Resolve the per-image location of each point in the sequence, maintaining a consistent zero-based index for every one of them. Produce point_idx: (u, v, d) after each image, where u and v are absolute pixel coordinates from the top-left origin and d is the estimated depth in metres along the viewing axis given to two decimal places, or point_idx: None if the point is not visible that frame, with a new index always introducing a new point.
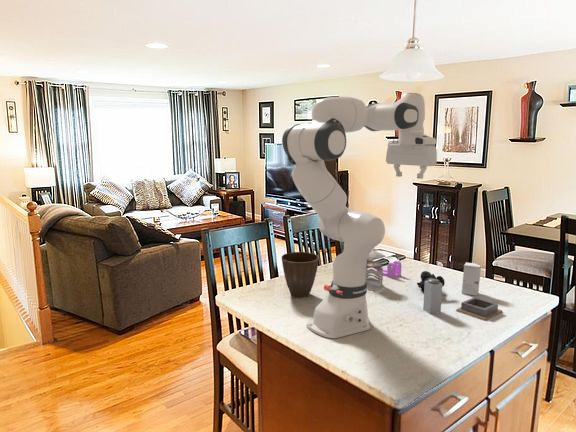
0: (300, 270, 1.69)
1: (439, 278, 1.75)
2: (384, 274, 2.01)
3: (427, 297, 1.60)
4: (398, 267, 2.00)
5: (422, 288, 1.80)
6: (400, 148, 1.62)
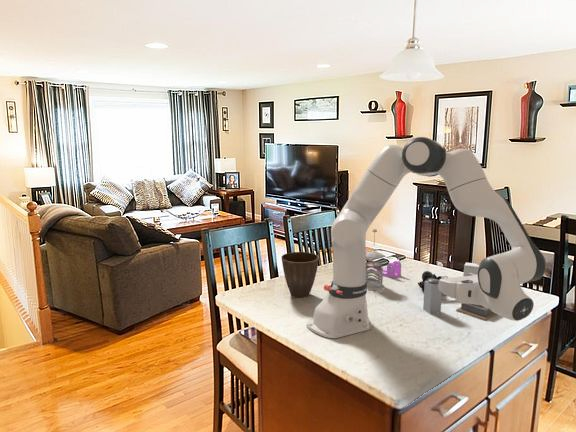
0: (300, 270, 1.69)
1: (440, 278, 1.75)
2: (384, 274, 2.01)
3: (427, 297, 1.60)
4: (398, 267, 2.00)
5: (423, 288, 1.81)
6: None
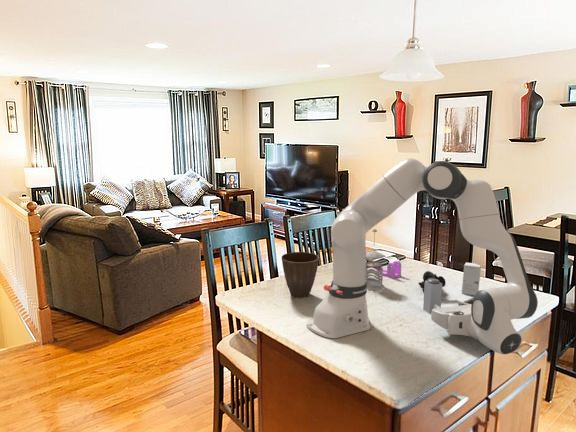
0: (300, 270, 1.69)
1: (440, 278, 1.75)
2: (384, 274, 2.01)
3: (427, 297, 1.60)
4: (398, 267, 2.00)
5: (423, 288, 1.81)
6: None
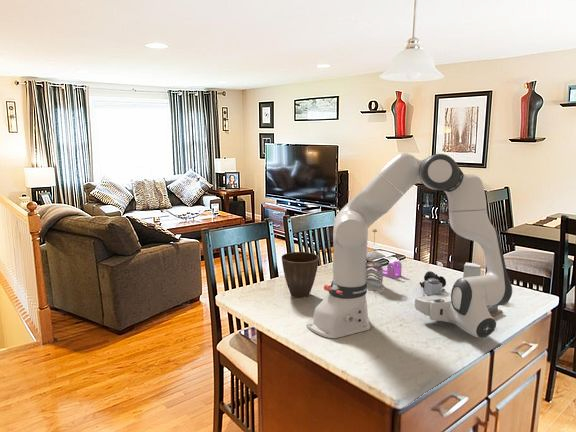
0: (300, 270, 1.69)
1: (441, 278, 1.75)
2: (384, 274, 2.01)
3: None
4: (398, 267, 1.99)
5: None
6: None
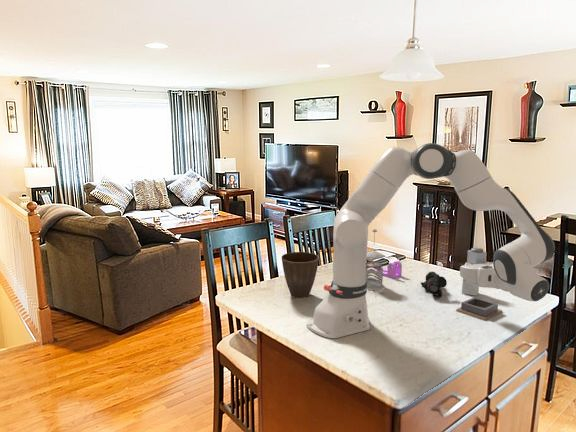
0: (300, 270, 1.69)
1: (441, 278, 1.74)
2: (384, 274, 2.01)
3: None
4: (398, 267, 1.99)
5: (425, 288, 1.81)
6: None
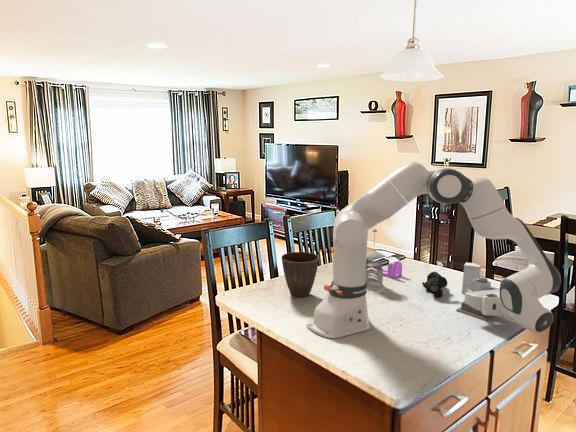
0: (300, 270, 1.69)
1: (442, 279, 1.74)
2: (384, 274, 2.01)
3: None
4: (399, 267, 1.99)
5: (426, 288, 1.81)
6: None
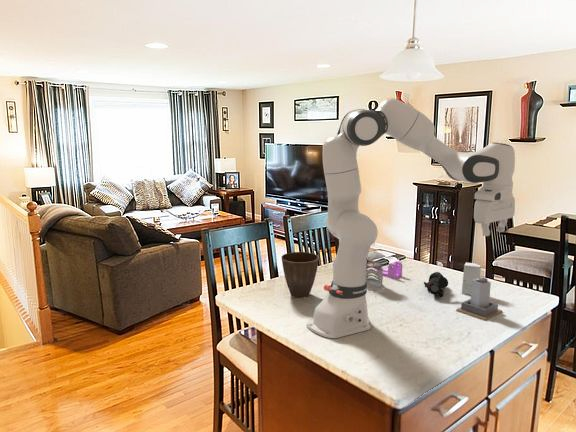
0: (300, 270, 1.69)
1: (442, 279, 1.74)
2: (385, 274, 2.00)
3: (474, 296, 1.59)
4: (399, 268, 1.99)
5: (428, 288, 1.81)
6: None
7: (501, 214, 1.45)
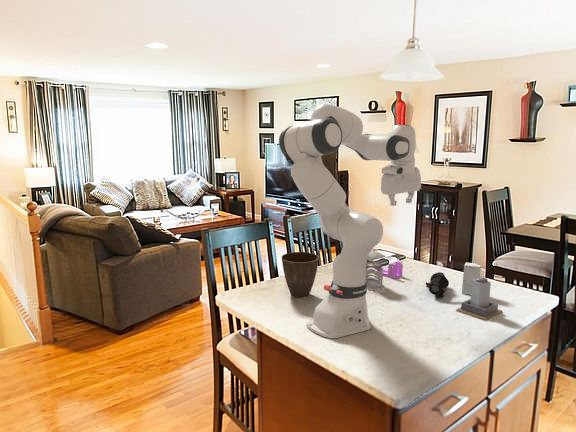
0: (300, 270, 1.69)
1: (443, 279, 1.74)
2: (385, 275, 2.00)
3: (474, 296, 1.59)
4: (399, 268, 1.99)
5: None
6: None
7: (406, 186, 1.68)
